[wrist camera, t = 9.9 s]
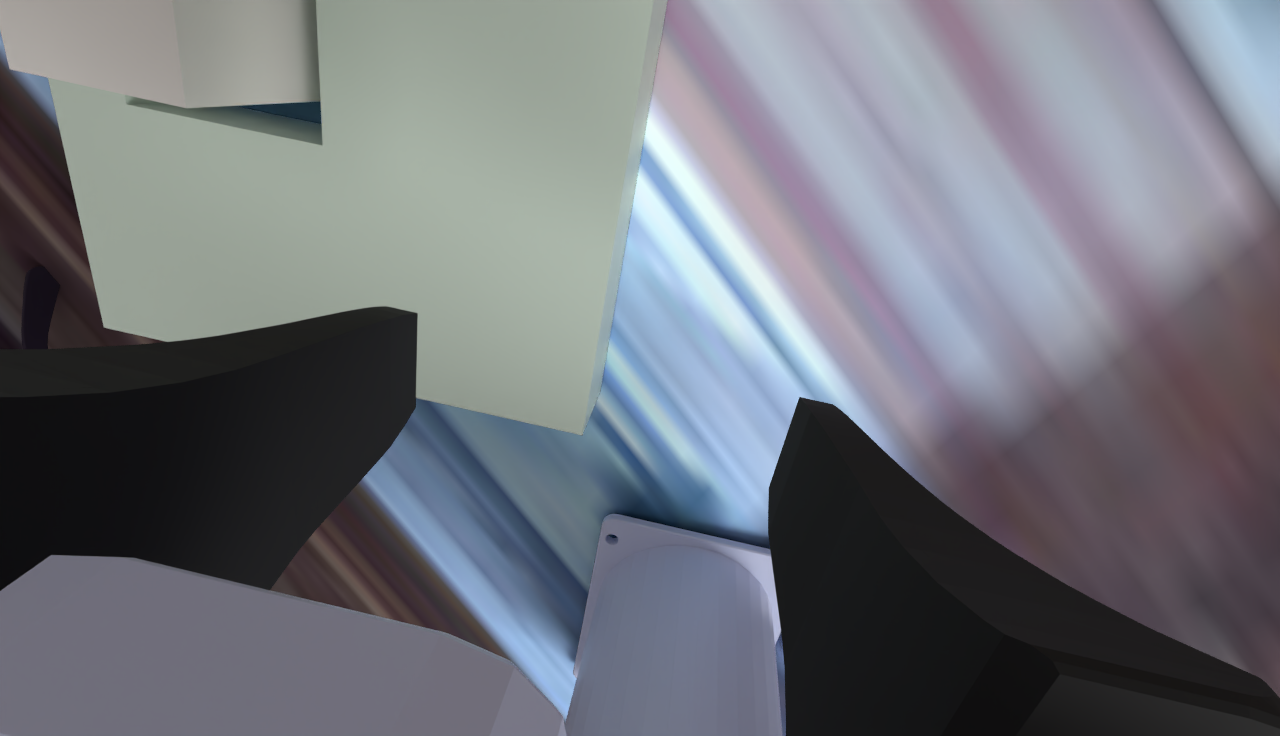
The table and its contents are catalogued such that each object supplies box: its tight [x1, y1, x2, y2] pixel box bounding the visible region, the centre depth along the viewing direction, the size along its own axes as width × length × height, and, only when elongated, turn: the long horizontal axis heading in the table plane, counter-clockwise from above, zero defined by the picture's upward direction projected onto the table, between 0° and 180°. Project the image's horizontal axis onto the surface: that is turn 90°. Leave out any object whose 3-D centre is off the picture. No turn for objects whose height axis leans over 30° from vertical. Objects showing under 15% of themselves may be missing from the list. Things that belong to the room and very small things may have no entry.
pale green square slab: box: [48, 0, 668, 435], centre depth 18 cm, size 16×16×3 cm
